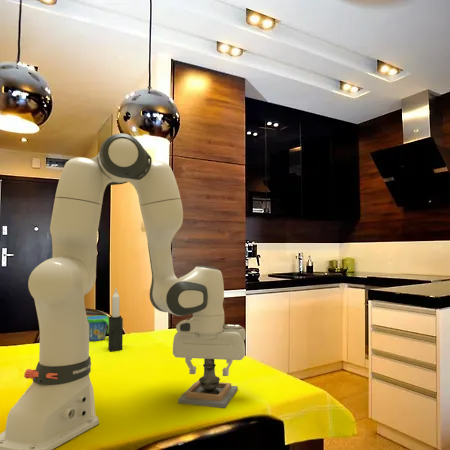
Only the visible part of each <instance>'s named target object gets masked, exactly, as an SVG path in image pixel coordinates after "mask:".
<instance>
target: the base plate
mask: <svg viewBox="0 0 450 450" xmlns="http://www.w3.org/2000/svg"><path fill="white" fill-rule="evenodd" d="M238 388H239V387H238V385H232V383H230V382H223V381H222V382H220V381H219V384H218V386H217V388H215V389H217V390H218V391H219V394H207V393H200V391H201V390H203V388H202V387H201V385H200V381H199V379H198V380H197V381H196V382H194V383H193V384H192V385H191V386H190V387H189V388H188V389H187V390H186V391H185V392H184V393H182V395H180V397H179V398H177V403H178V404H185V405H192V406H193V405H195V406H200V407H201V406H202V407H211V408H220V409H226V407H227V406H228V405H229V404H230V402H231V400H232V399H233V397H234V396H235V394H236V393H237V391H238Z"/></svg>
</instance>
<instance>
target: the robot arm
mask: <svg viewBox="0 0 450 450" xmlns="http://www.w3.org/2000/svg"><path fill="white" fill-rule="evenodd" d="M127 183H129V184H131V185H132V186H133V188H134V189H135V192H136V194H137V196H138V203H139V208H140V213H141V217H142V222H143V225H144V229H145V230H144V231H145V236H146V240H147V248H148V255H149V256H148V257H149V263H150V270H151V283H150V284H151V285H150V287H149V288H150V289H149V300H150V303H151V305H152V306H153V307H154V308H155V309H156V310H157V311H159V312H162V313H168V314H170V315H171V314H172V315H175V316H177V317H184V316H185V317H186V316H188V315H192V317H189V318H187V319H184V320H181V321H180V322H178V323H177V324H176V326H175V329H176V333H175V334H174V336H173V343H172V355H173V356H174V357H175V358H182V359H184V360H185V363H186V365H187V368H188V369H189V370H188V371H189V373H188V374H189V375H196V373H197V370H196V369H197V366H195V365H194V364H193V363H192V361H193V359H202V360H203V359H214V360H226V364H227V365H226V367H223V369H222V377H228V376H229V375H230V371H229V370H230V367H231V365H233V361H242V360H243V359H244V358H245V355H246V345H245V340H246V333H247V332H246V329H245V327H243V326H241V325H240V324H229V323H228V324H227V323H225V310H224V305H223V303H224V299H225V288H224V287H225V286H224V277H223V273H222V271H221V270H220V269H218V268H217V267H213V266H206V265H197V266H196V265H195V267H194V269H192V270H191V271H190V272H188V273H186V274H184V275H183V276H180V277H179V278H178V277H177V276H176V274H175V271H174V270H175V269H174V264H173V255H172V249H171V248H172V241H173V239H174V237H175V235H176V234H177V233H178V231H179V230H180V229H181V227H182V225H183V222H184V221H183V220H184V211H183V209H184V208H183V203H182V199H181V193H180V190H179V186H178V183H177V179H176V177H175V174H174V172H173V170H172V167H171V166H170V165H169V164H168V163H167V162H165V161H164V162H163V161H160V160H153V161H152V156H151V155H150V154H149V153H148V152H147V151H146V150H145V148H144V147H143V145H142V144H141V143H140V141H138V140H137V138H136V137H134V136H133V135H130V134H129V133H128V134H127V133H121V132H119V133H114V134H113V135H110V136H108V137H107V138H106V139H105V140H104V141H103V142H102V143H101V146H100V148H99V151H98V153H97V155H96V156H94V157H92V158H87V157H83V156H82V157H81V156H79V157H73V158H70V159H69V160H68V161H66V162H65V164H64V167H63V169H62V171H61V174H60V176H59V179H58V183H57V187H56V191H55V196H54V197H55V198H54V201H53V202H54V203H53V208H52V214H51V220H50V226H49V232H50V235H51V242H52V243H51V244H52V257H51V258H48V259H46V260H44V261H42V262H41V263H39V265H37V266H36V267H34V269H33V270H32V271H31V272H30V274H29V278H28V283H27V284H28V291H29V293H30V295H31V297H32V298H33V299H34V300H33V301H34V305H35V309H36V315H37V320H38V327H39V352H38V353H39V354H38V355H39V356H38V357H39V358H38V359H39V361H38V362H37V364H36V367H35V369H32V368H31V369H30V368H27V369H26V370H25V372H23V373H24V374H23V377H24V378H25V379H30V380H32V383H31V384H30V386H29V387H28V388H27V389H26V390H25V392H23V394H22V395H21V397H20V398H19V399H18V400H17V402H15V404H14V405H13V406H12V408H10V410H9V413H8V415H7V418H6V423H5V430H4V431H2V432H1V433H0V450H54V449H55V448H57V447H59V446H62V445H63V444H65V443H67V442H68V441H70V440H72V439H74V438H75V437H77V436H79V435H81V434H83V433H85V432H87V431H88V430H90V429H92V428H93V427H95V426H97V425H99V423H100V421H99V417H98V416H97V414H96V406H95V393H94V386H93V384H92V381H91V378H90V373H91V370H92V367H91V366H92V362H91V356H90V340H89V323H88V320H87V317H88V316H87V311H86V305H85V304H86V303H85V295H88V293H89V292H90V291H91V290H92V289H93V287H94V286H95V283H96V279H97V260H98V259H97V257H98V256H97V255H98V247H97V246H98V245H97V244H98V232H99V226H100V220H101V215H102V214H101V213H102V208H103V207H102V205H103V200H104V199H103V198H104V194H105V190H106V188H107V187H109V186H114V185H123V184H127Z"/></svg>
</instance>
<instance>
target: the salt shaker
mask: <svg viewBox="0 0 450 450" xmlns="http://www.w3.org/2000/svg"><path fill="white" fill-rule="evenodd" d="M202 367H203V375H202V376H201V377H200V378H199V379H198V380H199V381H200V385H201V387H202V388H203V390H201V391H200V393H207V394H219V391H218V390H217V389H215V388H217V386H218V384H219V382H220V380H221V378H220V377H219V376H217V375H216V372H215V371H216V363H215V359H204V360H203V365H202Z"/></svg>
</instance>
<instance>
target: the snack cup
mask: <svg viewBox="0 0 450 450" xmlns="http://www.w3.org/2000/svg"><path fill="white" fill-rule="evenodd" d="M109 318H110V316H108V315H89V316H87V320H88V323H89V342H90V341H91V342H93V341H94V342H96V341H97V342H99V341H103V340H105V338H106V335H109Z"/></svg>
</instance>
